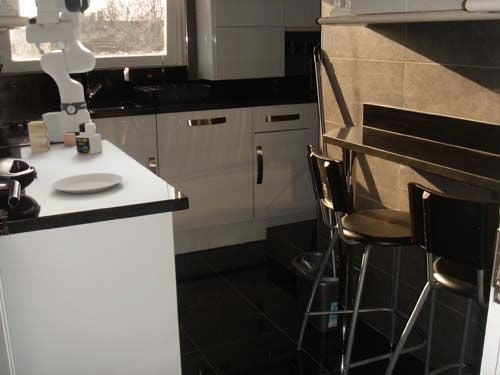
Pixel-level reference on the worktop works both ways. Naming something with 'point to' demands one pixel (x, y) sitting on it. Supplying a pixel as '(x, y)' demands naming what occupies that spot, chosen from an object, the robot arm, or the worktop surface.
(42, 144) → the tower base
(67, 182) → the plate
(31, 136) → the tower mid
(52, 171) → the worktop surface
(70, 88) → the robot arm
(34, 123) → the tower top
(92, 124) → the medicine bottle
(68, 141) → the pink rounded cylinder
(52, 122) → the supplement box
